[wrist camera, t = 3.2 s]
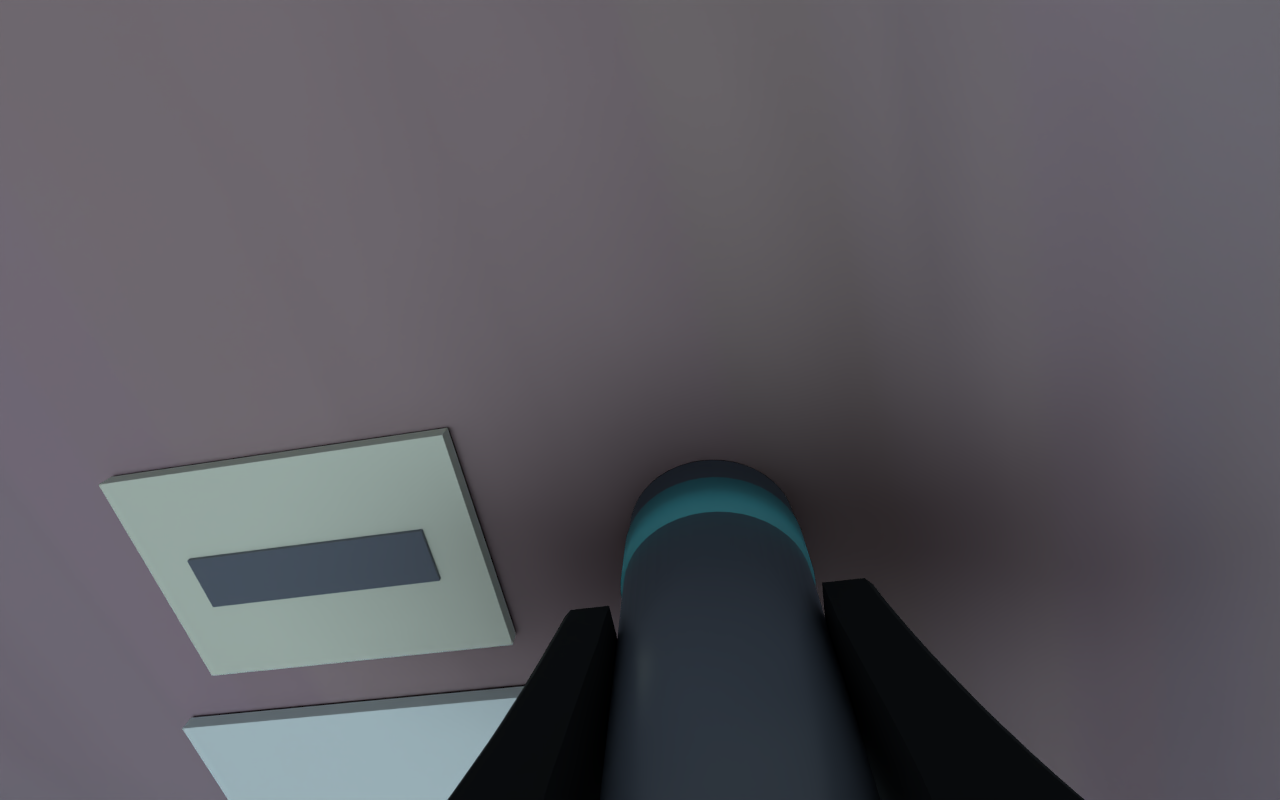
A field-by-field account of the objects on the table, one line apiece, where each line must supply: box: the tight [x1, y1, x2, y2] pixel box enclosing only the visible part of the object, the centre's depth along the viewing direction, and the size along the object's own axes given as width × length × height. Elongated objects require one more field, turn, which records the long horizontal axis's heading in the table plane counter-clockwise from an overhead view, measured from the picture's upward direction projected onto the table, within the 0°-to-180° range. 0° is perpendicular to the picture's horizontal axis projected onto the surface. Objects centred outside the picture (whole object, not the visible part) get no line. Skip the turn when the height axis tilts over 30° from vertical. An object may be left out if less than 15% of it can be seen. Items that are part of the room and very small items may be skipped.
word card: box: [99, 428, 516, 676], centre depth 13 cm, size 7×5×1 cm
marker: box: [600, 460, 881, 800], centre depth 8 cm, size 3×3×10 cm
